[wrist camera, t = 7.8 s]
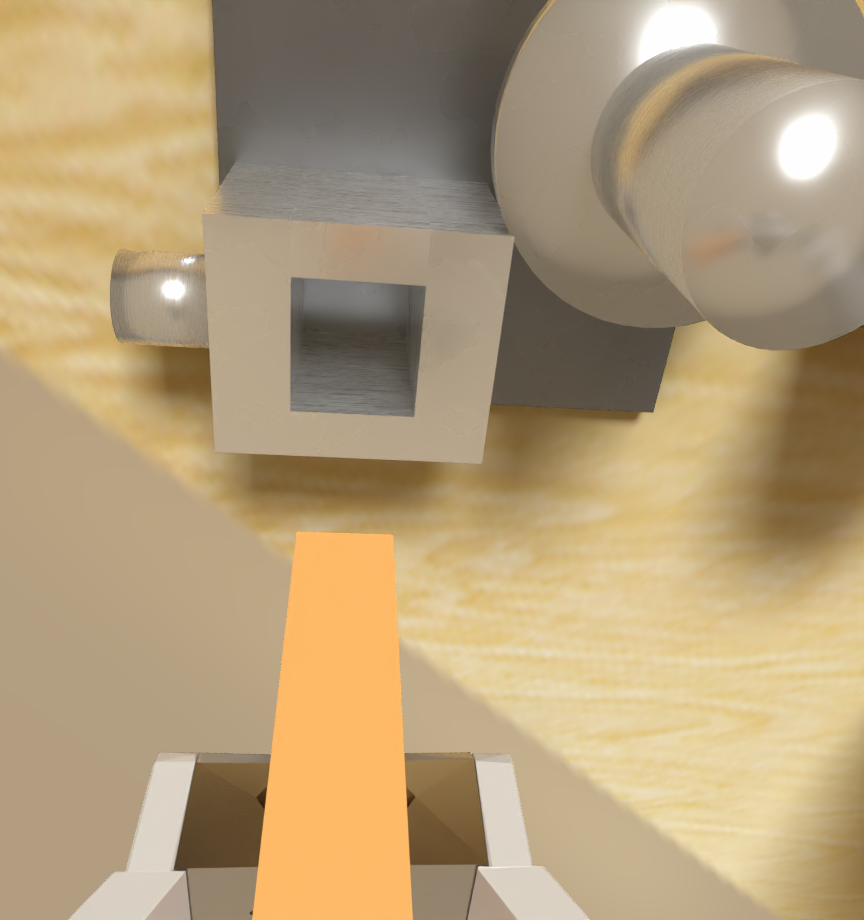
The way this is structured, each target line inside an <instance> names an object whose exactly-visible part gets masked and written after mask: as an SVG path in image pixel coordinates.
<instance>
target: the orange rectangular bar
mask: <svg viewBox="0 0 864 920" xmlns="http://www.w3.org/2000/svg"><path fill="white" fill-rule="evenodd" d="M399 662H400V661H399V641H398V622H397V602H396V583H395V563H394V544H393V534H361V533H329V532H296V541H295V550H294V559H293V567H292V576H291V585H290V594H289V602H288V611H287V620H286V628H285V637H284V646H283V655H282V663H281V672H280V681H279V689H278V698H277V707H276V716H275V724H274V733H273V742H272V751H271V759H270V768H269V777H268V785H267V794H266V803H265V812H264V820H263V829H262V838H261V846H260V855H259V864H258V873H257V881H256V890H255V899H254V908H253V916H252V920H413V913H412V894H411V874H410V855H409V836H408V816H407V797H406V777H405V758H404V739H403V719H402V700H401V680H400V663H399Z"/></svg>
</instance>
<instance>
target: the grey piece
mask: <svg viewBox="0 0 864 920" xmlns="http://www.w3.org/2000/svg"><path fill="white" fill-rule="evenodd" d="M212 7H213V32H214V57H215V82H216V107H217V132H218V158H219V183H220V187H219V189H218V190H217V192H216V193H215V195H214V196H213V198H212V199H211V201H210V203H209V204H208V206H207V207H206V209H205V210H204V212H203V213H202V215H203V235H204V254H205V255H203V254H189V253H174V252H159V251H145V250H130V249H120V250H119V251H118V253H117V254H116V256H115V259H114V263H113V267H112V273H111V282H110V308H111V317H112V324H113V328H114V332H115V335H116V337H117V339H118V341H119V342H120V343H122V344H136V345H154V346H171V347H189V348H207V349H209V352H210V372H211V391H212V411H213V431H214V450H215V452H222V453H245V454H268V455H291V456H314V457H337V458H360V459H383V460H406V461H429V462H452V463H475V464H482V460H483V453H484V446H485V439H486V432H487V425H488V418H489V411H490V404H497V405H517V406H536V407H556V408H575V409H595V410H614V411H634V412H653V411H654V407H655V403H656V399H657V396H658V392H659V388H660V384H661V380H662V376H663V373H664V369H665V365H666V361H667V357H668V353H669V350H670V346H671V342H672V338H673V334H674V330H675V326H683V325H689V324H693V323H697V322H701V321H705V320H707V321H708V322H709V323H710V324H711V325H712V326H713V327H715V328H716V329H717V330H718V331H719V332H721V333H722V334H724V335H726V336H727V337H729V338H730V339H733V340H735V341H737V342H739V343H742V344H744V345H748V346H752V347H755V348H760V349H768V350H794V349H802V348H808V347H812V346H816V345H820V344H823V343H826V342H829V341H832V340H834V339H837V338H839V337H841V336H843V335H846V334H848V333H850V332H852V331H854V330H855V329H857V328H859V327H860V326H862V325H864V18H863V15H862V13H861V10H860V8H859V7H858V5H857V3H856V1H855V0H212Z"/></svg>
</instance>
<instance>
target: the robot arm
mask: <svg viewBox="0 0 864 920" xmlns="http://www.w3.org/2000/svg"><path fill="white" fill-rule="evenodd" d="M404 758H405V777H406V797H407V816H408V836H409V855H410V874H411V894H412V913H413V920H590V919H589V918H588V917H587V915H586V914H585V913H584V912H583V911H582V910H581V908H579V906H578V905H577V904H576V903H575V902H574V900H572V898H571V897H570V896H569V895H568V893H567V892H566V891H565V890H564V889H563V888H562V887H561V886H560V884H559V883H558V882H557V881H556V880H555V878H554V877H553V876H552V875H551V874H550V873H549V871H548V870H547V869H546V868H545V867H544V866H533V865H532V860H531V855H530V849H529V844H528V839H527V834H526V828H525V823H524V818H523V813H522V808H521V802H520V797H519V791H518V786H517V781H516V776H515V770H514V765H513V760H512V759H511V757H510V756H509V754H508V753H473V754H471V753H470V752H466V753H465V752H460V753H404ZM270 759H271V755H265V754H229V753H227V754H226V753H183V752H182V753H181V752H160V753H159V754H158V756H157V758H156V760H155V762H154V764H153V767H152V771H151V775H150V779H149V783H148V787H147V791H146V794H145V798H144V802H143V806H142V810H141V813H140V817H139V821H138V825H137V829H136V833H135V836H134V841H133V844H132V848H131V852H130V856H129V859H128V863H127V867H126V871H121V872H113V873H112V874H111V875H110V876H109V877H108V878H107V879H106V880H105V881H104V882H103V883H102V884H101V885H100V886H99V887H98V888H97V889H96V891H94V893H92V894H91V896H90V897H89V898H88V899H87V900H86V901H85V902H84V903H83V904H82V905H81V906H80V907H79V908H78V909H77V910H76V911H75V912H74V913H73V914H72V915H71V916H70V917H69V919H68V920H252V916H253V908H254V899H255V890H256V881H257V873H258V864H259V855H260V846H261V838H262V829H263V820H264V812H265V803H266V794H267V785H268V777H269V768H270Z"/></svg>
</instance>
